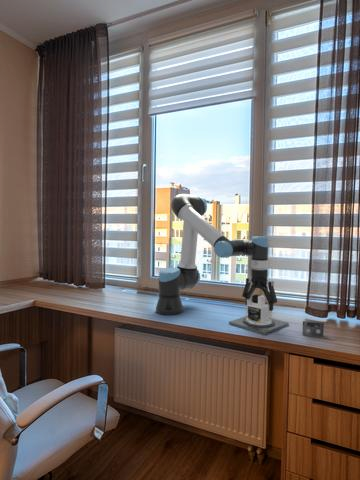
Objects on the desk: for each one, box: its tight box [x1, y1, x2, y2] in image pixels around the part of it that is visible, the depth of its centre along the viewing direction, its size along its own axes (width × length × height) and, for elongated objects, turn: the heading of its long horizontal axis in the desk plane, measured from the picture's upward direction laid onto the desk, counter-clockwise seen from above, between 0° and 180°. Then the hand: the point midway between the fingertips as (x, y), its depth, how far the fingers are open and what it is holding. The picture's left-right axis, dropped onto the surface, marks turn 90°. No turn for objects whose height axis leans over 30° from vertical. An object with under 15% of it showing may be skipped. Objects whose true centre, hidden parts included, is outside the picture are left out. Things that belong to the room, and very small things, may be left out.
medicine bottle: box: [247, 294, 269, 323], centre depth 149 cm, size 7×7×12 cm
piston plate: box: [228, 315, 289, 336], centre depth 149 cm, size 20×20×2 cm
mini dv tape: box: [301, 320, 325, 338], centre depth 135 cm, size 8×2×6 cm, turn 75°
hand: (258, 314), depth 149 cm, fingers open, 10 cm apart
